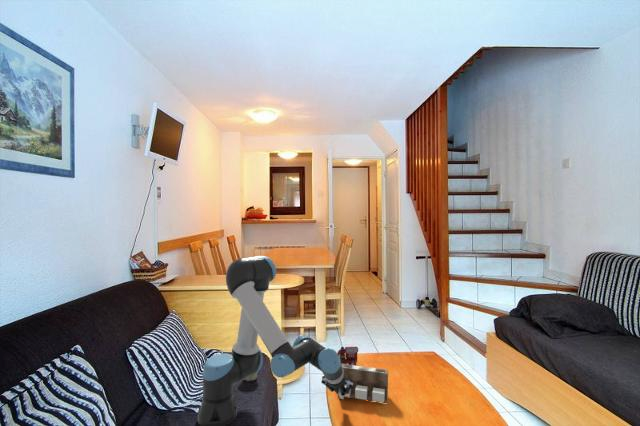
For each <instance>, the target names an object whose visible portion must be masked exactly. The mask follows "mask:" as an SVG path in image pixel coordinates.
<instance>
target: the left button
mask: <svg viewBox="0 0 640 426" xmlns="http://www.w3.org/2000/svg"><path fill="white" fill-rule="evenodd" d="M344 386H345V388H346V386H347V384H346V385H344ZM350 394H351V388H350V391H349V393H348V394H345V395H344V396H345V397H350ZM338 395H339V394H337V396H338ZM345 397H344V398H345Z"/></svg>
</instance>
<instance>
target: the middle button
mask: <svg viewBox="0 0 640 426" xmlns="http://www.w3.org/2000/svg"><path fill="white" fill-rule="evenodd" d="M367 396H368V387H367V386H360V385H356V389H355V398H357V399H364V400H367ZM357 399H356V400H357Z"/></svg>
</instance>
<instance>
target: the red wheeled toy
mask: <svg viewBox="0 0 640 426" xmlns="http://www.w3.org/2000/svg"><path fill="white" fill-rule="evenodd" d="M358 352H359V348H358V346H345V347H344V346H341V347H340V349H338V350H337V354H338V356H339V357H340V360H341V364H348V365H355V366H357V363H358Z"/></svg>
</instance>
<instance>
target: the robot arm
mask: <svg viewBox="0 0 640 426" xmlns="http://www.w3.org/2000/svg"><path fill="white" fill-rule="evenodd" d="M276 275H277V268H276V264H275V263H274V261H273V259H271V258H270V257H268V256H265V255H256V256H250V257H243V258H242V257H241V258H238V259H235V260H233V261H232V262H231V263H230V264H229V266H228V267H227V269H226V273H225V283H226V287H227V289H228V292H229V294H230V296H231V297H232V298H233V299H236V300H237V301H238V303H239V305H240V306H241V311H240V319H239V324H238V331H237V339H236V340H237V341H236V342H235V343H233V345H232V349H231V353H220V354H217V353H216V354H215V355H213V356H211V357H209V358H208V359H207V360H206V361H205V363H204V364H203V371H202V402H201V404H200V408H199V410H198V413H197V423H198V425H199V426H229V425H230V424H231V423H233V422H234V421H235V420H236V418H237V415H238V409H237V405H236V402H235V398H234V393H233V392H234V386H235V385H237V384H238V383H241V382H242V381H244V380H245V379H246V378H248V377H251V376H252V375H254V374H255V373H257V374H258V372H259V371H260V370H261V369H262V366H263V362H264V356H263V354H262V350H261V348H260V346H259V344H258V343H257V342H258V338H260V339H261V341H262V342H263V344H264V347H266V350H268V352H269V354H270V357H271V358H270V363H269V366H270V370H271V372H272V374H273V375H274V376H275V377H277V378H280V379H281V378H284V377H287V376H290V375H291V374H293V373H294V372H295V371H297V370H299V369H301V368H303V367H304V366H305V365H307V364H308V363H309V364H310V365H311V366H314V367H315V368H316V369H317V370H319V371H321V372H322V374H323V376H322V378H321V384H322V385H325V387H326V388H327V389H328V390H329V391H330V392H332V393H333V392H335V394H336V395H338V394H339V396H338V397H339V400H344V398H345V397H344V395H345V394H348V393H349V391H350V388H352V387H353V380H350V381H349V380H348V381H347V379H346V378H345V374H344V370H343V368H342V364H341V360H340V357H339V356H340V355H339V356H338V354H337V353H338V351H336V350H335V349H333V348H327V347H325V346H324V345H322V344H320V343H319V342H318V341H315V340H314V339H313V337H309V336H308V335H306V334H300V335H298V336H297V338H295V340H294V342H293V344H292V343H290V342H289V340H288V338H287V337H286V335H285V334H284V332H283V331H282V329H281V327H280V326H279V324H278V322H277V321H276V319H275V318H274V317H273V314H271V312H270V310H269V309H268V307H267V306H266V304H265V302H264V297H265V292H267V291H268V290H269V286H270V283H271V282H272V281H273V280H275V278H276ZM258 336H259V337H258ZM291 344H292V345H291ZM346 384H347V386H346V388H345V386H344V385H346Z"/></svg>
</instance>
